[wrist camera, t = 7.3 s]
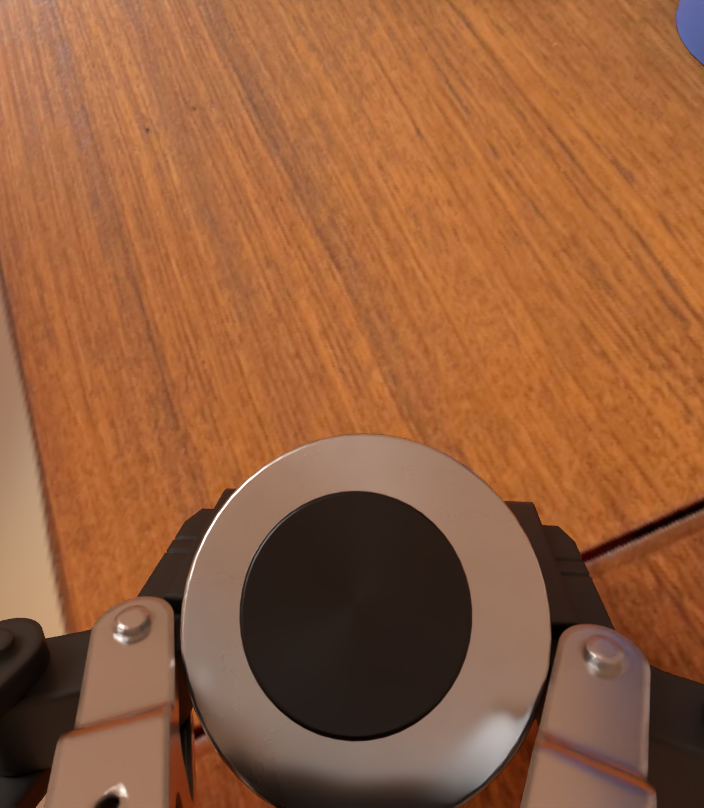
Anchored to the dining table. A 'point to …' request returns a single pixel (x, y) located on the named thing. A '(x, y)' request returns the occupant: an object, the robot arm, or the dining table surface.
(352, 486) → the flask
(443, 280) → the dining table surface
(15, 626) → the robot arm
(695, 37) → the water bottle
